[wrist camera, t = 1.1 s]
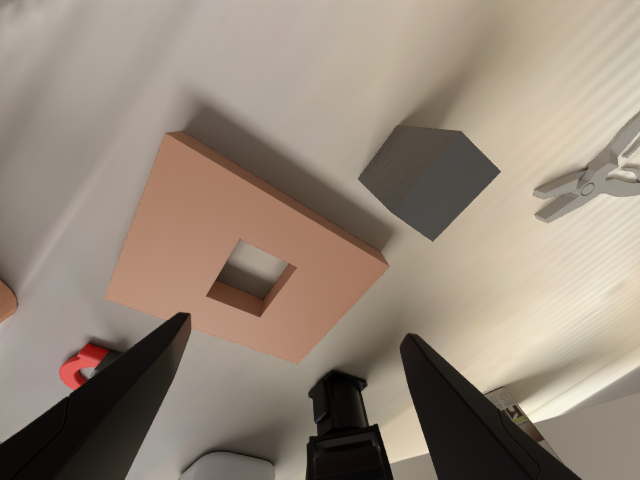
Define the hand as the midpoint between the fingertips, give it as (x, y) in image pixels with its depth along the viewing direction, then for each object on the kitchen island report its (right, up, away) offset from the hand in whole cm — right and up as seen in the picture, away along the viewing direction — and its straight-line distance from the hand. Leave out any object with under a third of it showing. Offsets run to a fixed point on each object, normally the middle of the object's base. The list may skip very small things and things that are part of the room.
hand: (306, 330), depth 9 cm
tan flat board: (-6, +1, +14) cm, 15 cm away
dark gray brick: (+7, +10, +10) cm, 16 cm away
